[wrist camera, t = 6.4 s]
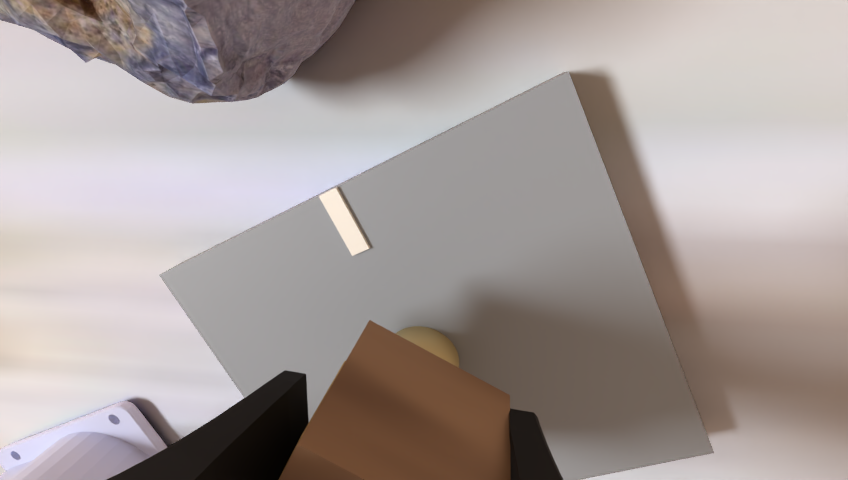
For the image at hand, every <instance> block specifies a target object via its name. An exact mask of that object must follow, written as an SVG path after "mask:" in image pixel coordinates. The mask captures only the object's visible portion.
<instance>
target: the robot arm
mask: <svg viewBox="0 0 848 480" xmlns="http://www.w3.org/2000/svg"><path fill="white" fill-rule="evenodd" d="M308 423H309V419H308V400H307V380H306V374H304V373H299V372H293V371H287V370H285V371H283V372H282V373H280V374H279V375H277V376H276V377H274V378H273V379H271V380H270V381H268V382H267V383H265V384H264V385H263V386H261V387H260V388H258V389H257V390H255V391H254V392H253V393H251V394H250V395H248V396H247V397H245V398H244V399H243V400H241V401H240V402H238V403H237V404H235V405H234V406H232V407H231V408H229V409H228V410H226V411H225V412H223V413H222V414H220V415H219V416H217V417H216V418H214V419H213V420H211V421H210V422H208V423H206V424H205V425H203V426H202V427H200V428H198V429H197V430H195V431H194V432H192V433H190V434H189V435H187V436H185V437H184V438H182V439H181V440H179V441H177V442H176V443H174V444H172V445H171V446H169V447H167V445H166V444H165V443H164V442H163V440H162V439H161V438H160V436H159V435H158V434H157V432H156V431H155V430H154V429H153V427H152V426H151V425H150V423H149V422H148V421H147V420H146V418H145V417H144V416H143V414H142V413H141V412H140V411H139V409H138V408H137V407H136V406H135V405H134V404H133V403H131V402H128V401H122V402H119V403H117V404H114V405H111V406H109V407H106V408H103V409H101V410H98V411H96V412H93V413H90V414H88V415H85V416H82V417H80V418H77V419H75V420H72V421H69V422H67V423H64V424H62V425H59V426H56V427H54V428H51V429H48V430H46V431H43V432H41V433H38V434H35V435H33V436H30V437H27V438H25V439H22V440H20V441H17V442H14V443H12V444H9V445H7V446H4V447H3V448H1V449H0V465H1V466H2V467H3V468H4V470H5V472H4V473H2V474H1V475H0V480H279V478H280V476H281V474H282V472H283V470H284V468H285V466H286V464H287V462H288V460H289V458H290V456H291V454H292V452H293V451H294V449H295V447H296V445H297V443H298V441H299V439H300V437H301V435H302V433H303V432H304V430H305V428H306V427H307V425H308ZM509 438H510V455H511V480H563V478H562V476H561V474H560V472H559V469H558V467H557V465H556V463H555V461H554V458H553V456H552V454H551V451H550V449H549V447H548V444H547V442H546V439H545V437H544V434H543V431H542V429H541V426H540V423H539V420H538V417H537V416H536V414H535V413H534V412H528V411H522V410H516V409H511V408H510V412H509Z"/></svg>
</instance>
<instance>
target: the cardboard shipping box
mask: <svg viewBox="0 0 848 480" xmlns="http://www.w3.org/2000/svg"><path fill="white" fill-rule="evenodd" d="M509 412H510V395H509V394H507V393H505V392H503V391H501V390H499V389H498V388H496V387H494V386H492V385H490V384H488V383H486V382H484V381H483V380H481V379H479V378H477V377H475V376H473V375H471V374H470V373H468V372H466V371H464V370H462V369H460V368H458V367H457V366H455V365H453V364H451V363H449V362H447V361H445V360H443V359H442V358H440V357H438V356H436V355H434V354H432V353H430V352H429V351H427V350H425V349H423V348H421V347H419V346H417V345H415V344H414V343H412V342H410V341H408V340H406V339H404V338H402V337H401V336H399V335H397V334H395V333H393V332H391V331H389V330H388V329H386V328H384V327H382V326H380V325H378V324H376V323H374V322H373V321H371V320H369V322H368V323H367V325H366V327H365V329H364V330H363V332H362V334H361V335H360V337H359V339H358V341H357V342H356V344H355V346H354V348H353V349H352V351H351V353H350V355H349V356H348V358H347V360H346V361H344V363H343V365H342V366H341V368H340V370H339V372H338V373H337V375H336V377H335V378H334V380H333V382H332V384H331V385H330V387H329V389H328V390H327V392H326V394H325V396H324V397H323V399H322V401H321V403H320V404H319V406H318V408H317V409H316V411H315V413H314V415H313V416H312V418H311V420H310V421H309V423H308V425H307V427H306V428H305V430H304V432H303V433H302V435H301V437H300V439H299V441H298V443H297V445H296V447H295V449H294V451H293V452H292V454H291V456H290V458H289V460H288V462H287V464H286V466H285V468H284V470H283V472H282V474H281V476H280V478H279V480H511V455H510V438H509Z"/></svg>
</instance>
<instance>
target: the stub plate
mask: <svg viewBox="0 0 848 480" xmlns="http://www.w3.org/2000/svg"><path fill="white" fill-rule="evenodd" d="M160 277H161V278H162V280H163V281H164V283H165V284H166V286H167V287H168V288H169V290H170V291H171V293H172V294H173V296H174V297H175V299H176V300H177V301H178V303H179V304H180V306H181V307H182V309H183V310H184V311H185V313H186V314H187V316H188V317H189V319H190V320H191V322H192V323H193V324H194V326H195V327H196V329H197V330H198V332H199V333H200V335H201V336H202V337H203V339H204V340H205V342H206V343H207V345H208V346H209V348H210V349H211V350H212V352H213V353H214V355H215V356H216V358H217V359H218V360H219V362H220V363H221V365H222V366H223V368H224V369H225V371H226V372H227V373H228V375H229V376H230V378H231V379H232V381H233V382H234V384H235V385H236V386H237V388H238V389H239V391H240V392H241V394H242V395H243V397H244V398H245V397H247V396H248V395H250V394H251V393H253V392H254V391H255V390H257V389H258V388H260V387H261V386H263V385H264V384H265V383H267V382H268V381H270V380H271V379H273V378H274V377H276V376H277V375H279V374H280V373H282V372H283V371H285V370H287V371H293V372H299V373H304V374H306V380H307V400H308V419H309V421H310V420H311V418H312V416H313V415H314V413H315V411H316V409H317V408H318V406H319V404H320V403H321V401H322V399H323V397H324V396H325V394H326V392H327V390H328V389H329V387H330V385H331V384H332V382H333V380H334V378H335V377H336V375H337V373H338V372H339V370H340V368H341V366H342V365H343V363H344V361H346V360H347V358H348V356H349V355H350V353H351V351H352V349H353V348H354V346H355V344H356V342H357V341H358V339H359V337H360V335H361V334H362V332H363V330H364V329H365V327H366V325H367V323H368V322H369V320H371V321H373V322H374V323H376V324H378V325H380V326H382V327H384V328H386V329H388V330H389V331H391V332H393V333H395V334H397V335H399V336H401V337H402V338H404V339H406V340H408V341H410V342H412V343H414V344H415V345H417V346H419V347H421V348H423V349H425V350H427V351H429V352H430V353H432V354H434V355H436V356H438V357H440V358H442V359H443V360H445V361H447V362H449V363H451V364H453V365H455V366H457V367H458V368H460V369H462V370H464V371H466V372H468V373H470V374H471V375H473V376H475V377H477V378H479V379H481V380H483V381H484V382H486V383H488V384H490V385H492V386H494V387H496V388H498V389H499V390H501V391H503V392H505V393H507V394H509V395H510V408H511V409H516V410H522V411H528V412H534V413H535V414H536V416H537V417H538V420H539V423H540V426H541V429H542V431H543V434H544V437H545V439H546V442H547V444H548V447H549V449H550V451H551V454H552V456H553V458H554V461H555V463H556V465H557V467H558V469H559V472H560V474H561V476H562V478H563V480H580V479H585V478H590V477H595V476H600V475H605V474H610V473H615V472H620V471H625V470H630V469H635V468H640V467H645V466H650V465H655V464H660V463H665V462H670V461H675V460H680V459H685V458H690V457H695V456H700V455H705V454H710V453H714V451H713V449H712V446H711V443H710V441H709V438H708V436H707V433H706V430H705V428H704V425H703V423H702V420H701V417H700V415H699V412H698V409H697V407H696V404H695V402H694V399H693V396H692V394H691V391H690V388H689V386H688V383H687V381H686V378H685V375H684V373H683V370H682V367H681V365H680V362H679V360H678V357H677V354H676V352H675V349H674V346H673V344H672V341H671V339H670V336H669V333H668V331H667V328H666V325H665V323H664V320H663V318H662V315H661V312H660V310H659V307H658V305H657V302H656V299H655V297H654V294H653V291H652V289H651V286H650V284H649V281H648V278H647V276H646V273H645V270H644V268H643V265H642V263H641V260H640V257H639V255H638V252H637V249H636V247H635V244H634V242H633V239H632V236H631V234H630V231H629V228H628V226H627V223H626V221H625V218H624V215H623V213H622V210H621V207H620V205H619V202H618V200H617V197H616V194H615V192H614V189H613V187H612V184H611V181H610V179H609V176H608V173H607V171H606V168H605V166H604V163H603V160H602V158H601V155H600V152H599V150H598V147H597V145H596V142H595V139H594V137H593V134H592V131H591V129H590V126H589V124H588V121H587V118H586V116H585V113H584V110H583V108H582V105H581V103H580V100H579V97H578V95H577V92H576V89H575V87H574V84H573V82H572V79H571V76H570V74H569V72H563V73H561V74H559V75H557V76H555V77H553V78H551V79H549V80H547V81H545V82H543V83H541V84H539V85H537V86H535V87H533V88H531V89H529V90H527V91H525V92H523V93H521V94H519V95H517V96H515V97H513V98H511V99H509V100H507V101H505V102H503V103H501V104H499V105H497V106H495V107H493V108H491V109H489V110H487V111H485V112H483V113H481V114H479V115H477V116H475V117H473V118H471V119H469V120H467V121H465V122H463V123H461V124H459V125H457V126H455V127H453V128H451V129H449V130H447V131H445V132H443V133H441V134H439V135H437V136H435V137H433V138H431V139H429V140H427V141H425V142H423V143H421V144H419V145H417V146H415V147H413V148H411V149H409V150H407V151H405V152H403V153H401V154H399V155H397V156H395V157H393V158H391V159H389V160H387V161H385V162H383V163H381V164H379V165H377V166H375V167H373V168H371V169H369V170H367V171H365V172H363V173H361V174H359V175H357V176H355V177H353V178H351V179H349V180H347V181H345V182H343V183H341V184H339V185H337V186H335V187H333V188H331V189H329V190H327V191H325V192H323V193H321V194H319V195H317V196H315V197H313V198H311V199H309V200H307V201H305V202H303V203H301V204H299V205H296V206H294V207H292V208H290V209H288V210H286V211H284V212H282V213H280V214H278V215H276V216H274V217H272V218H270V219H268V220H266V221H264V222H262V223H260V224H258V225H256V226H254V227H252V228H250V229H248V230H246V231H244V232H242V233H240V234H238V235H236V236H234V237H232V238H230V239H228V240H226V241H224V242H222V243H220V244H218V245H216V246H214V247H212V248H210V249H208V250H206V251H204V252H202V253H200V254H198V255H196V256H194V257H192V258H190V259H188V260H186V261H184V262H182V263H180V264H178V265H177V266H175V267H173V268H171V269H169V270H168V271H166V272H164V273H162V274H160Z"/></svg>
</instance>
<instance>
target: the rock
mask: <svg viewBox="0 0 848 480" xmlns="http://www.w3.org/2000/svg"><path fill="white" fill-rule="evenodd" d="M354 2H355V0H0V20H2V21H6V22H9V23H13V24H17V25H20V26H23V27H26V28H30V29H33V30H35V31H37V32H39V33H40V34H42V35H44V36H46V37H47V38H49V39H51V40H53V41H55V42H57V43H59V44H61V45H63V46H65V47H67V48H69V49H71V50H72V51H73V52H75V53H76V54H77V55H78V56H79V57H80V58H81V59H82V60H84V61H85V62H88V61H90V60H92V59H94V58H97V59H100V60H103V61H106V62H109V63H113V64H116V65H117V66H119V67H120V68H122V69H124V70H125V71H127V72H128V73H130V74H131V75H133V76H134V77H136V78H137V79H139V80H140V81H142V82H144V83H145V84H147V85H149V86H151V87H153V88H154V89H156V90H158V91H160V92H162V93H163V94H165V95H167V96H169V97H172V98H176V99H179V100H183V101H186V102H189V103H209V102H233V101H241V100H248V99H252V98H257V97H259V96H260V95H262V94H264V93H266V92H268V91H271V90H273V89H274V88H276V87H278V86H280V85H282V84H284V83H285V82H286V81H287V80H288V79H290V78H291V77H292V76H293V75H294V74H295V72H296V71H297V69H298V67H299V66H300V64H301V62H303V61H304V60H306V59H307V58H309V57H310V56H312V55H313V54H314V53H315V52H316V51H317V50H318V49H319V48H320V47H321V46H322V45H323V44H324V43H325V42H326V41H327V40H328V39H329V38H330V37H331V36H332V35H333V34H334V33H335V32H336V31H337V29H338V28H339V27H340V25H341V24H342V22H343V20H344V19H345V17H346V15H347V14H348V12H349V10H350V9H351V7H352V6H353V4H354Z"/></svg>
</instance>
